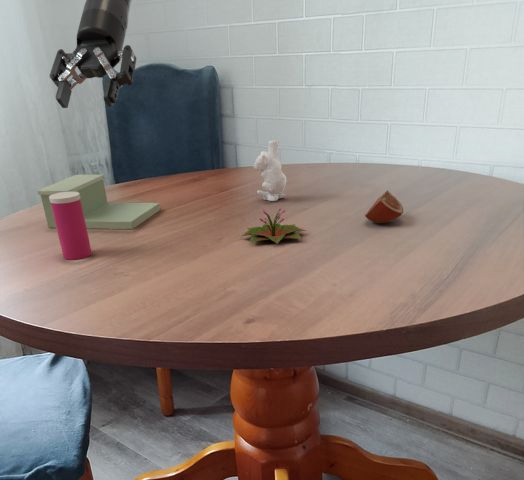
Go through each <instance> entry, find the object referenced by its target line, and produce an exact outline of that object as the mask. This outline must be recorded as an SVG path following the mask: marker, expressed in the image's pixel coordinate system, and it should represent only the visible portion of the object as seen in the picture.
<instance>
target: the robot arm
mask: <svg viewBox="0 0 524 480" xmlns="http://www.w3.org/2000/svg"><path fill="white" fill-rule="evenodd" d="M132 1H133V0H85V2H84V5H83V9H82V13H81V18H80V22H79V25H78V29H77V32H76V47H75V49H74V50H73V51H72V53H71V52H69V53H67V52H65V50H64V49H62V48H61V49H58V50H57V52H56V54H55V58H54V60H53V64H52V66H51V70H50V73H49V79H51V81H52V82H53V83H54V85H55V86H56V87H57V88H56V93H55V100H56V101H57V103H58V104H59V105H60V107H61V109H67V108H69V105H70V101H71V96H72V92H73V91H72V90H73V89H74V88H75V87H76V86H77V85H78V84H79V85H81V84H82V83H83V82H85V80H87V79H93V78H98V79H103V78H104V77H105V76H108V77H109V79H107V80H106V84H105V88H104V93H103V101H104V103H105V104H106V105H107V107H109V108H111V107H112V108H113V107H114V106H115V104H116V103H117V101H118V98H119V93H120V89H122V88H123V86H124V85H127V86H131V85H132V84H133V83H134V76H135V70H136V63H137V55H135V53H134V51H133V49H132V47H131V45H129V44H127V45H125V46H124V42H125V39H126V34H127V30H128V26H129V25H128V24H129V14H130V9H131V5H132ZM120 61H121V63H120ZM119 63H120V70H119V72H118V73H116V71H115V70H114V68H115V67H116V66H117V65H118V64H119ZM76 69H78V71H79V72H80V73H77V71H76ZM70 77H71V79H70ZM68 79H70V80H68Z"/></svg>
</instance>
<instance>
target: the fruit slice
mask: <svg viewBox="0 0 524 480" xmlns="http://www.w3.org/2000/svg"><path fill="white" fill-rule="evenodd" d="M403 214H404V207H403V204H402V203H401V202H400V201H399V200H398V199H397V198H396V196H394V195H393V194H392V193H391V192H390V191H389V190H388V189H387V190H386V191H384V193H383V194H382V195H380V196H379V197H378V198H377V199H376V200H375V202H374V203H373V204H372V205H371V207H370V208H369V209H368V211H367V212H366V213H365V215H364V216H365V218H367V220H368V221H370V222H372V223H374V224H386V223H389V222H393V221H394V220H396V219H397V218H400V217H401V216H402V215H403Z"/></svg>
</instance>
